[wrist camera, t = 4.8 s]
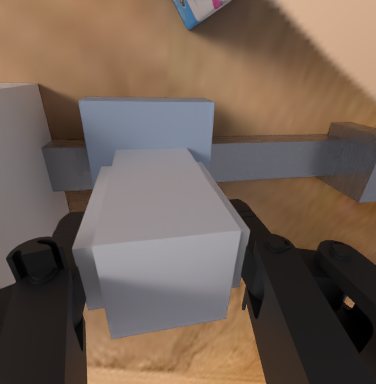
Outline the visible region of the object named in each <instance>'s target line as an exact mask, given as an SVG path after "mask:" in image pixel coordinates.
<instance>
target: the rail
mask: <svg viewBox="0 0 376 384" xmlns="http://www.w3.org/2000/svg"><path fill="white" fill-rule="evenodd" d="M41 149H42V153H43V157H44V160H45V164H46V168H47V171H48V175H49V178H50V182H51V186H52V189H53V192H58V191H74V190H91V189H94V186H93V181H92V175H91V170H90V164H89V158H88V153H87V147H86V142H85V139H66V140H51V141H50V142H48V143H47V144H46V145H45V146H44V147H42V148H41ZM209 173H210V175H211V176H212V178H213V179H214V180H215V182H226V181H243V180H260V179H277V178H294V177H311V176H315V177H316V178H318V179H320V180H321V181H323V182H325V183H326V184H328V185H330V186H331V187H333V188H335V189H336V190H338V191H340V192H341V193H343V194H345V195H346V196H348V197H350V198H351V199H353V200H355V201H357V202H358V203H363V202H374V201H376V128H372V127H368V126H364V125H360V124H356V123H352V122H338V123H331V126H330V129H329V132H328V134H320V135H269V136H218V137H212V144H211V157H210V169H209Z"/></svg>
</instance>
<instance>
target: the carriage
mask: <svg viewBox="0 0 376 384" xmlns="http://www.w3.org/2000/svg"><path fill="white" fill-rule="evenodd" d="M78 103H79V109H80V114H81V120H82V125H83V131H84V136H85V142H86V147H87V153H88V158H89V164H90V170H91V175H92V181H93V186H95V183H96V180H97V177H98V175H99V172H100V169H101V166H112V167H111V171H110V175H109V179H108V183H107V187H106V191H105V195H104V199H103V203H102V207H101V211H100V215H99V219H98V223H97V227H96V231H95V235H94V239H93V243H92V250H93V254H94V259H95V264H96V268H97V273H98V278H99V282H100V287H101V292H102V297H103V301H104V306H105V311H106V315H107V320H108V325H109V329H110V334H111V339H115V338H121V337H127V336H132V335H138V334H143V333H149V332H154V331H160V330H166V329H171V328H177V327H182V326H188V325H193V324H199V323H205V322H210V321H216V320H221V319H226V315H227V309H228V303H229V298H230V292H231V286H232V280H233V274H234V269H235V263H236V257H237V251H238V246H239V240H240V234H241V230H240V228H239V226H238V225H237V223H236V222H235V220H234V219H233V217H232V216H231V214H230V213H229V211H228V210H227V208H226V207H225V205H224V204H223V202H222V201H221V199H220V197H219V196H218V194H217V193H216V191H215V190H214V188H213V187H212V185H211V184H210V182H209V181H208V179H207V178H206V176H205V175H204V173H203V172H202V170H201V169H200V167H199V165H198V164H197V162H202V163H203V165H204V166H205V168H206V169H207V170H208V172H209V169H210V157H211V144H212V132H213V120H214V107H215V102H213V101H210V100H208V99H206V98H137V97H85V98H83V99H81V100H79V101H78Z"/></svg>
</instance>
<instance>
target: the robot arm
mask: <svg viewBox="0 0 376 384" xmlns="http://www.w3.org/2000/svg"><path fill="white" fill-rule="evenodd" d="M197 164H198V165H199V167H200V169H201V170H202V172H203V173H204V175H205V176H206V178H207V179H208V181H209V182H210V184H211V185H212V187H213V188H214V190H215V191H216V193H217V194H218V196H219V197H220V199H221V201H222V202H223V204H224V205H225V207H226V208H227V210H228V211H229V213H230V214H231V216H232V217H233V219H234V220H235V222H236V223H237V225H238V226H239V228H240V230H241V234H240V240H239V246H238V251H237V257H236V263H235V269H234V274H233V280H232V286H231V288H236V287H239V286H240V281H241V276H242V278H243V280H244V282H245V284H246V288H245V293H244V297H243V302H242V310H245V308H246V303H247V307H248V311H249V315H250V319H251V323H252V327H253V331H254V335H255V340H256V344H257V348H258V352H259V356H260V360H261V364H262V368H263V372H264V376H265V380H266V384H376V265H375V264H373V263H372V262H371V261H370V260H368V259H367V258H366V257H365V256H363V255H362V254H361V253H359V252H358V251H357V250H355V249H354V248H352V247H351V246H349V245H347V244H344V243H342V242H338V241H333V240H325V241H323V242H321V243H320V244H319V246H318V249H317V251H315V250H307V249H298V248H295V246H294V245H293V244H292V243H291V242H290V241H289V240H287V239H286V238H284V237H282V236H279V235H275V234H271V233H270V232H269V230H268V229H267V228H266V227H265V226H264V224H263V223H262V222H261V221H260V219H259V218H258V217H256V215H255V213H254V212H252V210H251V209H250V207H249V206H248V205H247V204H246V203H244V202H243V201H241V200H239V199H231V200H228V199H227V197H226V196H225V194H224V193H223V192H222V190H221V189H220V187H219V186H218V185H217V183H216V182H215V180H214V179H213V178H212V176H211V175H210V173H209V172H208V170H207V169H206V168H205V166H204V165H203V163H202V162H197ZM111 167H112V166H101V169H100V172H99V175H98V177H97V180H96V183H95V186H94V189H93V191H92V194H91V197H90V200H89V203H88V205H87V208H86V211H84V212H72V213H68V214H66V215H65V216H64V217H63V218H62V219H60V221H59V223H58V225H57V226H56V230H54V232H53V234H52V237H50V236H46V237H38V238H34V239H31V240H28V241H26V242H24V243H22V244H20V245H18V246H17V247H15V248H14V249H13V250H12V251H10V253H9V254H8V256H7V257H6V261H7V263H8V265H9V267H10V269H11V272H12V274H13V276H14V278H15V280H16V282H15V283H14V284H11V285H9V286H6V287H4V288H1V289H0V384H87V361H86V329H85V320H84V317H83V310H84V306H85V301H86V304H87V308H88V310H93V309H99V308H105V306H104V301H103V297H102V292H101V287H100V282H99V278H98V273H97V268H96V264H95V259H94V254H93V250H92V243H93V239H94V235H95V231H96V227H97V223H98V219H99V215H100V211H101V207H102V203H103V199H104V195H105V191H106V187H107V183H108V179H109V175H110V171H111ZM347 296H348V297H349V298H350V299H351V300H352V301H353V302H354V303H355V305H354V306H353V308H351V307H349V306H348V305H346V304H345V303H344V301H345V299H346V297H347Z"/></svg>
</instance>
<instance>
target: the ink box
mask: <svg viewBox="0 0 376 384" xmlns="http://www.w3.org/2000/svg"><path fill="white" fill-rule="evenodd" d="M230 1H232V0H173V2H174V4H175V6H176V8H177V10H178V12H179V14H180V16H181V18H182V20H183V22H184V24H185V26H186V28H187V29H188V30H191V29H192V28H194V27H195V26H196V25H198V24H199V23H201V22H202V21H203V20H205V19H206V18H208V17H209V16H210V15H212V14H213V13H215V12H216V11H217V10H219V9H221V8H222V7H223V6H224V5H226V4H227V3H229V2H230Z"/></svg>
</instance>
